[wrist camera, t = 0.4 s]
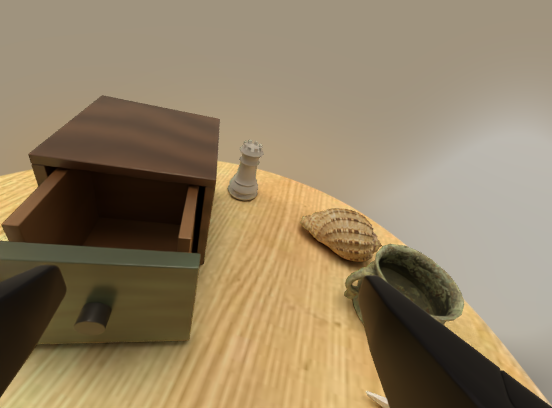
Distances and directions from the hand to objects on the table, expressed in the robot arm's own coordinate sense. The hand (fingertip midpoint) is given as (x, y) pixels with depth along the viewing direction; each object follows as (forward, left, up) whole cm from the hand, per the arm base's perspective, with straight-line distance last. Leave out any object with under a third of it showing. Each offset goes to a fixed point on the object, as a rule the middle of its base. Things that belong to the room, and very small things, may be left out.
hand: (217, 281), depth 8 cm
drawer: (+11, +6, -15) cm, 19 cm away
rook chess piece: (+27, -5, -16) cm, 32 cm away
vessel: (+8, -20, -16) cm, 27 cm away
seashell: (+18, -17, -16) cm, 29 cm away
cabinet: (+20, +6, -16) cm, 26 cm away
